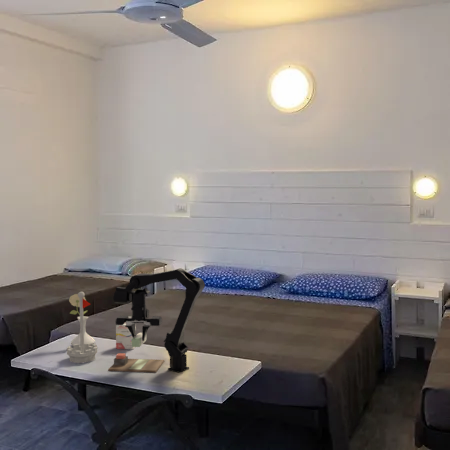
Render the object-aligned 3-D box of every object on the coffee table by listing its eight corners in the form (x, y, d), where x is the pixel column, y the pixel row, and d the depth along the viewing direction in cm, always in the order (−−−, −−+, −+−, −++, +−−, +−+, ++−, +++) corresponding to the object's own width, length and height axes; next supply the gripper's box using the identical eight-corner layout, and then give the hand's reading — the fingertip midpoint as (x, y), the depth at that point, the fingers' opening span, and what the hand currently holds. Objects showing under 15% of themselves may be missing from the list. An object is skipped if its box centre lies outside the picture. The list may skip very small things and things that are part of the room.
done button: (125, 359, 239) (125, 353, 239) (123, 361, 236) (123, 355, 236) (118, 358, 240) (118, 353, 240) (116, 360, 237) (116, 355, 237)
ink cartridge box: (115, 349, 264) (115, 318, 263) (118, 346, 269) (118, 315, 268) (133, 349, 263) (133, 318, 262) (136, 346, 268) (135, 316, 267)
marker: (139, 339, 242) (139, 332, 242) (146, 340, 242) (146, 332, 242) (131, 346, 231) (131, 339, 231) (139, 347, 231) (139, 339, 231)
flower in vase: (99, 343, 273) (99, 292, 272) (87, 350, 263) (86, 296, 261) (76, 341, 277) (75, 291, 276) (63, 347, 267) (61, 295, 265)
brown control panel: (164, 361, 244) (164, 353, 243) (156, 372, 229) (155, 364, 228) (119, 360, 246) (119, 352, 246) (108, 370, 231) (108, 362, 231)
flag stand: (60, 361, 245) (59, 292, 244) (81, 353, 257) (79, 288, 255) (83, 365, 239) (82, 295, 238) (103, 357, 251) (102, 290, 249)
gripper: (165, 300, 243) (165, 336, 243) (123, 300, 245) (123, 335, 246) (158, 305, 232) (159, 343, 232) (114, 305, 234) (115, 342, 235)
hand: (139, 340), depth 237 cm, fingers closed on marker, 3 cm apart
